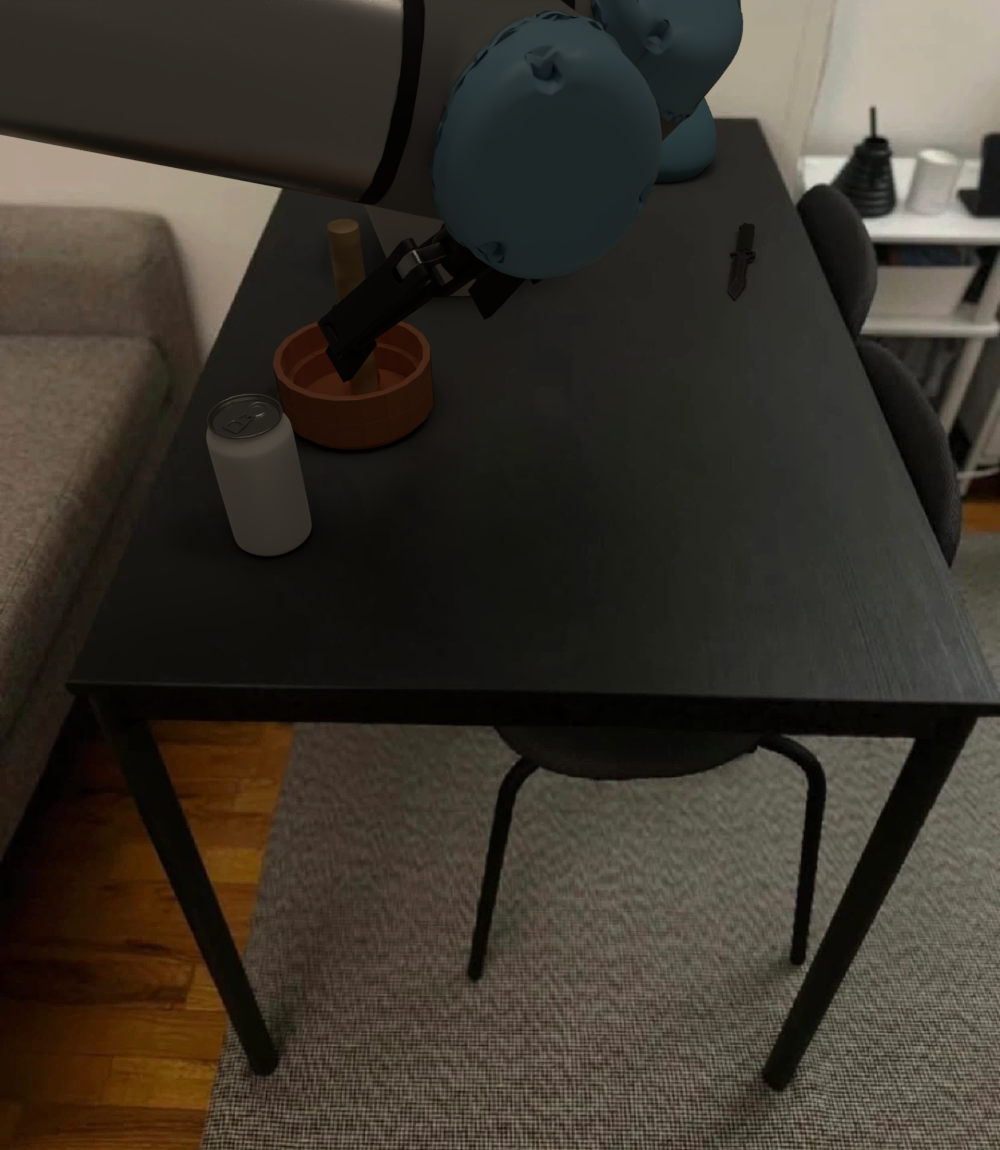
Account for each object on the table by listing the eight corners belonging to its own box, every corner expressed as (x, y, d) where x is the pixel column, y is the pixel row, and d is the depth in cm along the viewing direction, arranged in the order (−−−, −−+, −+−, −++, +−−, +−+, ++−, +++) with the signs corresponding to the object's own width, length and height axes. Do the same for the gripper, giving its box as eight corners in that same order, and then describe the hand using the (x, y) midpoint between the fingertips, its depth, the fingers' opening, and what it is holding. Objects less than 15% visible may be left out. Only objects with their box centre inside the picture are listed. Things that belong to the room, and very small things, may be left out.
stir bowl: (253, 421, 89) (240, 367, 85) (350, 352, 98) (343, 300, 93) (370, 473, 84) (362, 418, 79) (463, 395, 92) (460, 342, 88)
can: (328, 524, 79) (306, 406, 71) (276, 570, 75) (246, 451, 67) (271, 497, 82) (242, 381, 73) (218, 541, 78) (181, 423, 69)
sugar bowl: (730, 179, 127) (745, 88, 119) (625, 191, 125) (633, 99, 116) (689, 138, 137) (701, 51, 129) (592, 148, 135) (597, 61, 127)
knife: (734, 220, 116) (759, 220, 115) (734, 227, 117) (759, 227, 116) (722, 295, 104) (750, 296, 103) (722, 302, 105) (749, 303, 104)
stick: (347, 407, 89) (320, 225, 77) (368, 396, 91) (344, 215, 78) (365, 418, 88) (340, 235, 75) (386, 407, 90) (365, 224, 77)
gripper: (387, 313, 49) (298, 439, 68) (707, 179, 60) (553, 320, 79) (314, 185, 48) (245, 348, 67) (650, 73, 59) (509, 241, 78)
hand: (411, 333), depth 73 cm, fingers open, 13 cm apart
